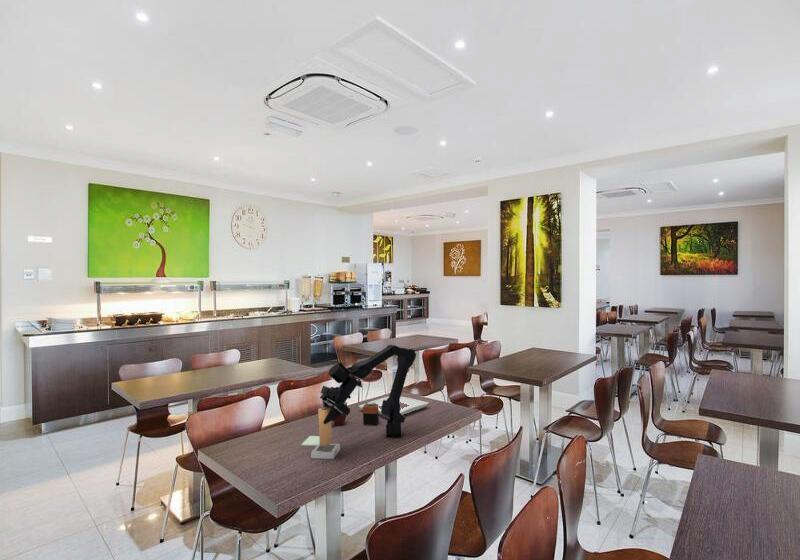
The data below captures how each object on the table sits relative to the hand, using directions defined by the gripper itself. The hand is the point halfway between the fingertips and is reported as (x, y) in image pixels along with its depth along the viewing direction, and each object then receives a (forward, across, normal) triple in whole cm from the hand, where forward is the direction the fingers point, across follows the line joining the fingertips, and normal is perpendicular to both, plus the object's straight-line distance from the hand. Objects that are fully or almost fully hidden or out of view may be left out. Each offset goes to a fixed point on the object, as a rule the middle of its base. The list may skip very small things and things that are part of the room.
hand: (321, 421), depth 173 cm
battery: (-14, -21, +33) cm, 41 cm away
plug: (+6, 0, +7) cm, 9 cm away
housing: (+8, 0, +10) cm, 13 cm away
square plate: (-28, -33, +48) cm, 64 cm away
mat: (+7, -15, +12) cm, 20 cm away
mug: (-4, -30, +24) cm, 38 cm away
